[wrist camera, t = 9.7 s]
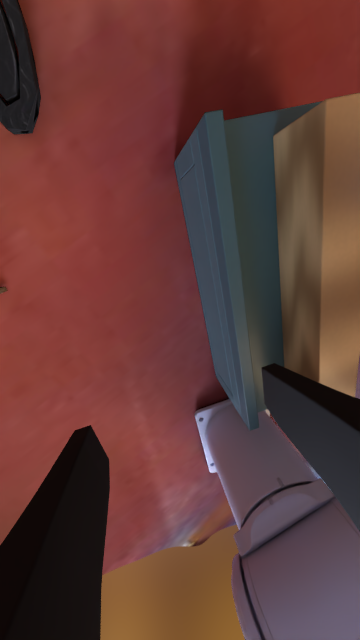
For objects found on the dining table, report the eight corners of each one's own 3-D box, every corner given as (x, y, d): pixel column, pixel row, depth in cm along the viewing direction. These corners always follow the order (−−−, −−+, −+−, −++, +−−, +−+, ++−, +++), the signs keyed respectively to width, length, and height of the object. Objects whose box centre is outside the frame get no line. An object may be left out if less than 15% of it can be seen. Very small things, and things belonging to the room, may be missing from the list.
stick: (315, 381, 17) (353, 411, 14) (285, 392, 17) (317, 425, 14) (320, 125, 11) (389, 86, 8) (272, 135, 11) (325, 98, 8)
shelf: (298, 349, 23) (359, 391, 17) (215, 377, 22) (249, 431, 16) (294, 136, 16) (396, 75, 10) (173, 162, 15) (204, 112, 9)
